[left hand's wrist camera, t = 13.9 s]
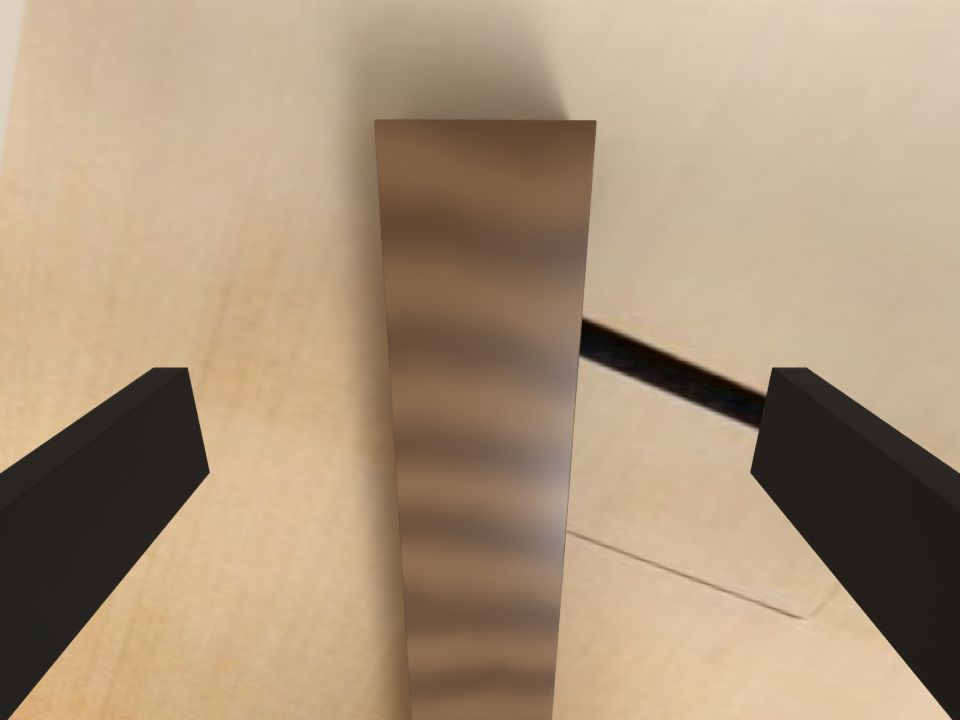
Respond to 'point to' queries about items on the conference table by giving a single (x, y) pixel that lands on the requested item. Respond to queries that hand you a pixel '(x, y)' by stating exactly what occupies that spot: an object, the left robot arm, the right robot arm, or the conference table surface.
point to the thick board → (483, 397)
